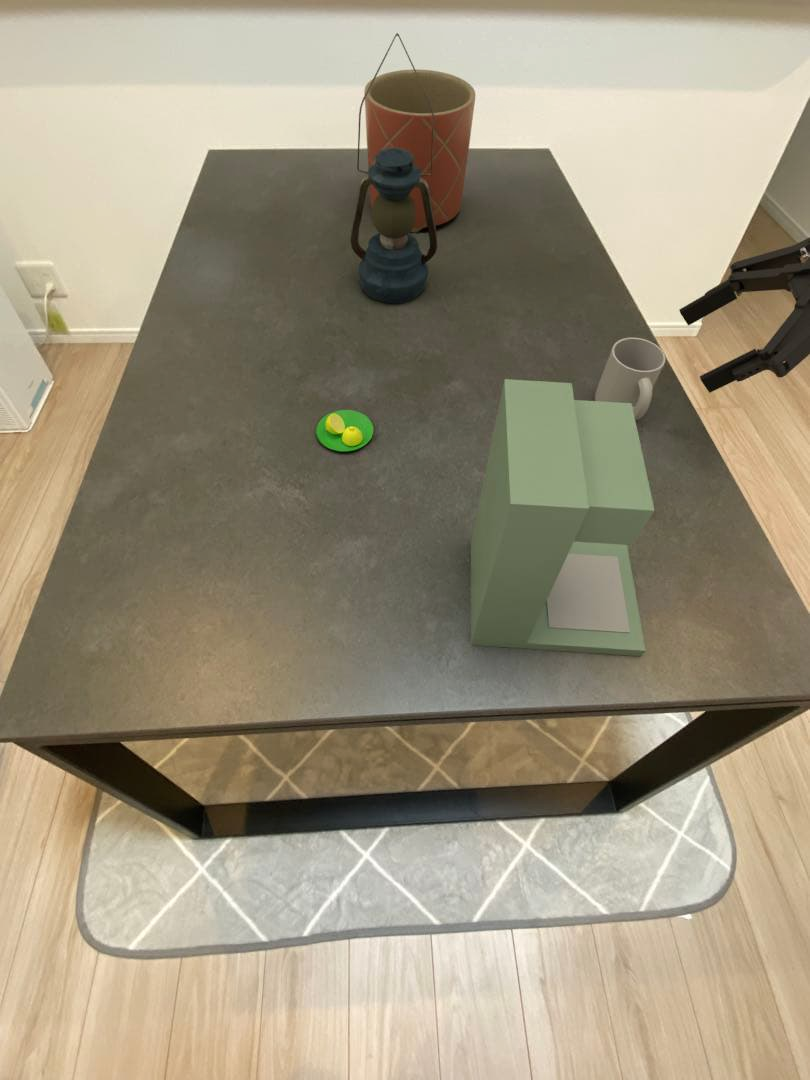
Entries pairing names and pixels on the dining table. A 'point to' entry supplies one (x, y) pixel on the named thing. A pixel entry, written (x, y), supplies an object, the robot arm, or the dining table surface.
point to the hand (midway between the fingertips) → (693, 349)
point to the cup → (631, 374)
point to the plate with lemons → (344, 430)
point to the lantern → (394, 223)
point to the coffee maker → (559, 524)
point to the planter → (423, 133)
